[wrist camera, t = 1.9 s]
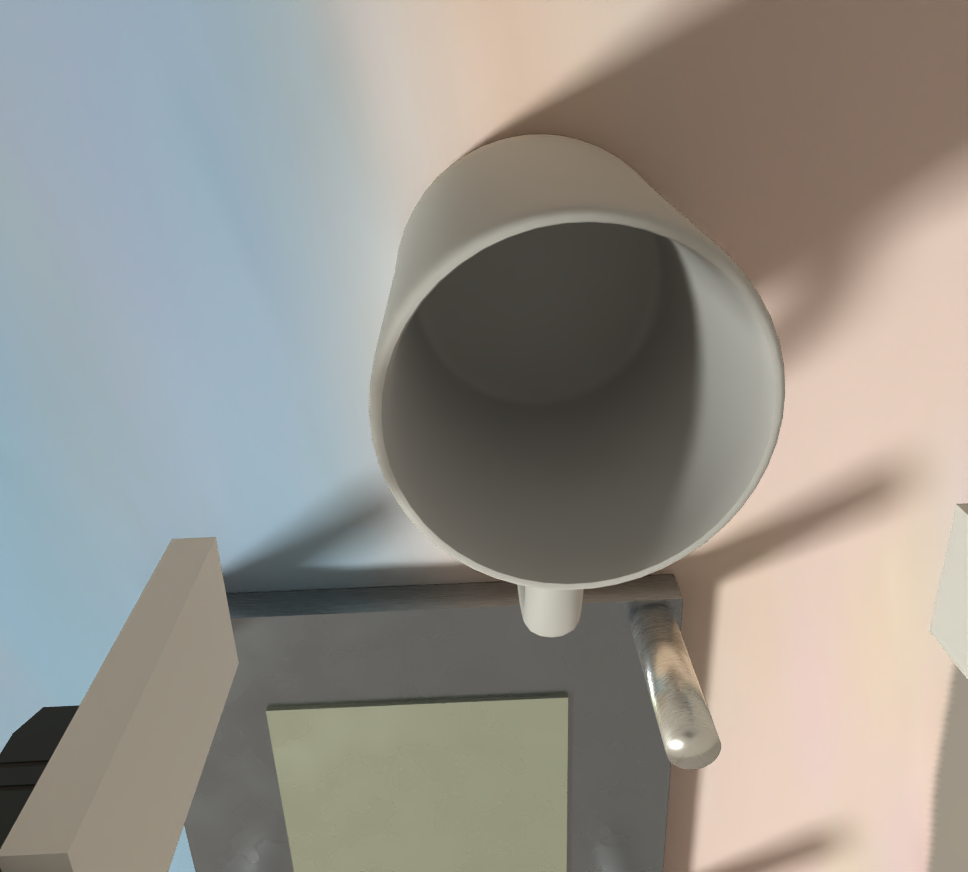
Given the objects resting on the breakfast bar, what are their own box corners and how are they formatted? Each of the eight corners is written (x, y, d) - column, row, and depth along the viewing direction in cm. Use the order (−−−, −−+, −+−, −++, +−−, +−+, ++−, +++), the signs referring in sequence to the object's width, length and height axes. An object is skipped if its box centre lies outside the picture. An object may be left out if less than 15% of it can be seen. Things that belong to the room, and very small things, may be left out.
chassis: (148, 597, 32) (67, 750, 26) (673, 574, 33) (730, 720, 26) (229, 946, 40) (183, 1134, 34) (649, 926, 41) (688, 1109, 34)
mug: (392, 131, 26) (351, 201, 16) (685, 131, 26) (826, 201, 16) (405, 496, 31) (380, 722, 21) (650, 494, 31) (741, 717, 21)
